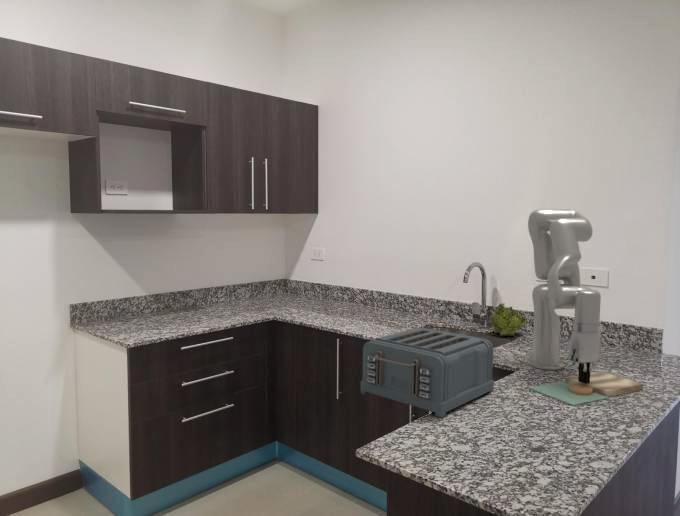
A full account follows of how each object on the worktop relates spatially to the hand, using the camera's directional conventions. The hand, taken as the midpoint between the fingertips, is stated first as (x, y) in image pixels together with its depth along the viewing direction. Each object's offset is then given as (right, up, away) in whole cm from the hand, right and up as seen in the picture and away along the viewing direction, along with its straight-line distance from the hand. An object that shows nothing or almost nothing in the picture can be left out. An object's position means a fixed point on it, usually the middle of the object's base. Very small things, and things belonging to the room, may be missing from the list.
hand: (583, 382), depth 179 cm
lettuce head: (-1, +3, +79) cm, 80 cm away
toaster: (-53, -3, -4) cm, 54 cm away
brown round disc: (-2, -3, -2) cm, 4 cm away
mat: (-7, -3, -3) cm, 8 cm away
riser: (+9, -3, +5) cm, 10 cm away
